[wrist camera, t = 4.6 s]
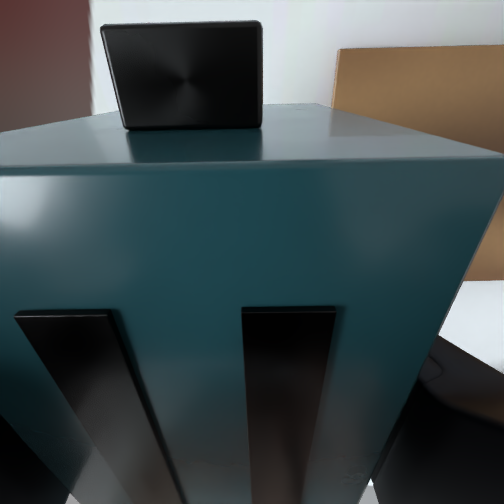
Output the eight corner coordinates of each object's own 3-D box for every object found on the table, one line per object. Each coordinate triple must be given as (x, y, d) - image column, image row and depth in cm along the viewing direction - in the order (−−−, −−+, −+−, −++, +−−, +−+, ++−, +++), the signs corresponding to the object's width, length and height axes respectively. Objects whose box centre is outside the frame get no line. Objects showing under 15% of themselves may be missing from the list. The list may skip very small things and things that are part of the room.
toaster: (297, 323, 14) (341, 551, 7) (181, 325, 14) (114, 552, 7) (321, 58, 8) (658, -77, 1) (126, 63, 8) (-452, -43, 2)
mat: (608, 275, 20) (614, 278, 20) (311, 280, 21) (312, 283, 20) (799, 37, 13) (814, 36, 13) (337, 49, 13) (339, 48, 13)
